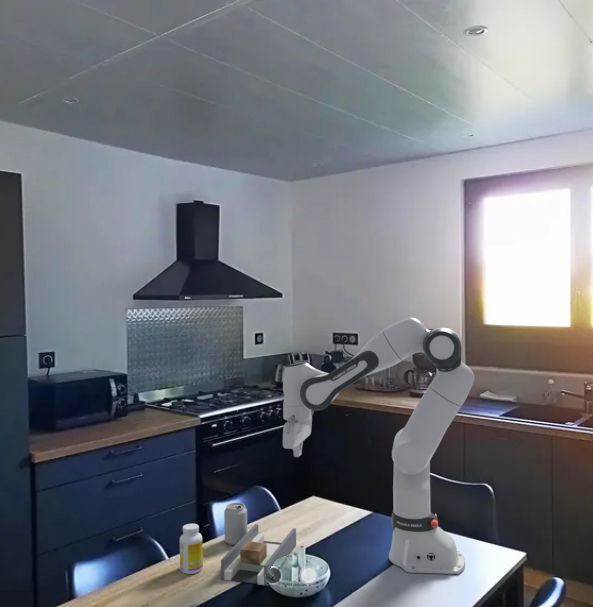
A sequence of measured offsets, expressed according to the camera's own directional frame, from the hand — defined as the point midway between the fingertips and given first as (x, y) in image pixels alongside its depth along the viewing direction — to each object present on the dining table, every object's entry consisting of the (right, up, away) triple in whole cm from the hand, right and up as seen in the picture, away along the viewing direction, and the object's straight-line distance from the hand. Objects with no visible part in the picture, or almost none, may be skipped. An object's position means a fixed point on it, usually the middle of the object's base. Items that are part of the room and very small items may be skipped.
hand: (297, 455), depth 190 cm
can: (-20, -30, +5) cm, 36 cm away
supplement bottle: (-31, -30, -15) cm, 46 cm away
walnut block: (-13, -27, -15) cm, 33 cm away
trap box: (-11, -29, -10) cm, 33 cm away
